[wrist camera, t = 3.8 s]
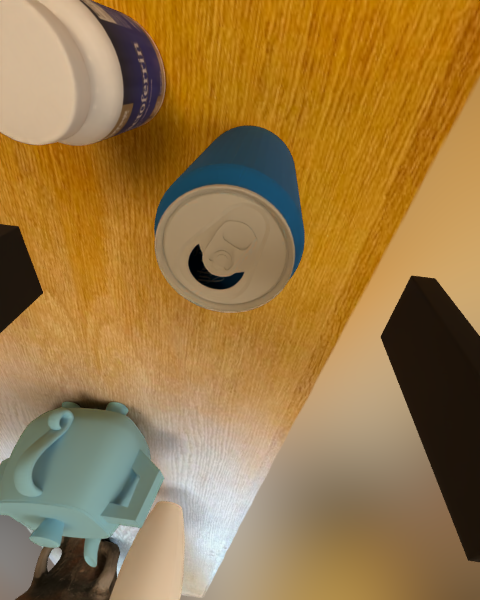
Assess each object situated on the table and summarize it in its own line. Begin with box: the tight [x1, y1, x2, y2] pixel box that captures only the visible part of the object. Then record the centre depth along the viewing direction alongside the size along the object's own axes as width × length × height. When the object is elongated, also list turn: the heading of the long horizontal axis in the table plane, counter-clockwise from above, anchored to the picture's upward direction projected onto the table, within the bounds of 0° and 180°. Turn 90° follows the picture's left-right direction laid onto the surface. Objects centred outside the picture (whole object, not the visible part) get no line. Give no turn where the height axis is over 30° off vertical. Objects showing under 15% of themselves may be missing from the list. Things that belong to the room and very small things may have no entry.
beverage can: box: [154, 126, 304, 313], centre depth 17 cm, size 6×6×12 cm
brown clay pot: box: [15, 536, 120, 600], centre depth 77 cm, size 27×26×15 cm
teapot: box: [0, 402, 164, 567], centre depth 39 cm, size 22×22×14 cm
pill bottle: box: [0, 0, 166, 146], centre depth 15 cm, size 6×6×10 cm
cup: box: [109, 501, 185, 600], centre depth 47 cm, size 10×10×22 cm
